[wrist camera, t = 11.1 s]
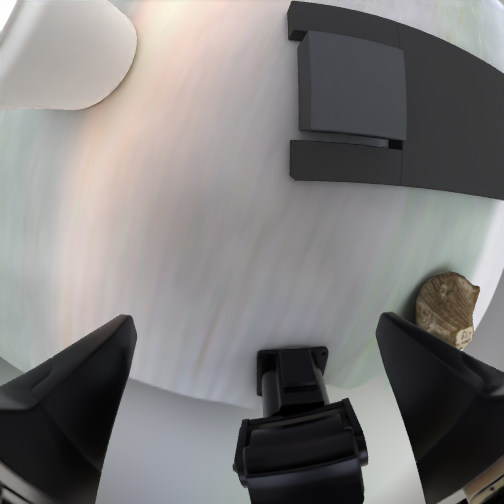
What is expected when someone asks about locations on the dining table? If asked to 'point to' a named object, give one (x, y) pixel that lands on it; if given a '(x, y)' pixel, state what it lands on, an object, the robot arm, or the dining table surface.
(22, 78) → the beverage can
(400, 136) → the pad
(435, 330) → the fossilized seashell
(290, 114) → the dining table surface
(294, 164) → the u-shaped holder
